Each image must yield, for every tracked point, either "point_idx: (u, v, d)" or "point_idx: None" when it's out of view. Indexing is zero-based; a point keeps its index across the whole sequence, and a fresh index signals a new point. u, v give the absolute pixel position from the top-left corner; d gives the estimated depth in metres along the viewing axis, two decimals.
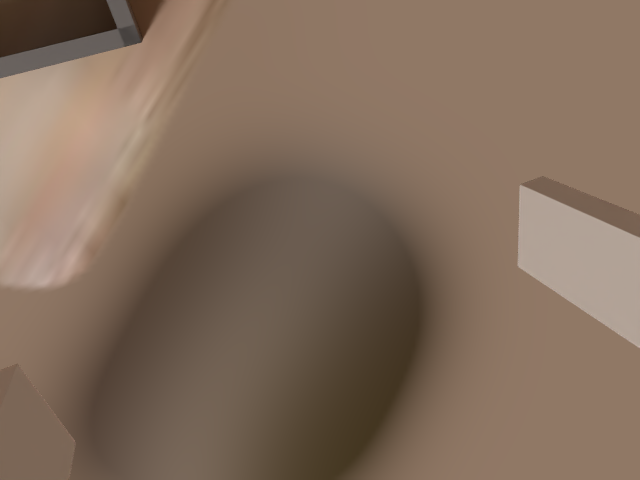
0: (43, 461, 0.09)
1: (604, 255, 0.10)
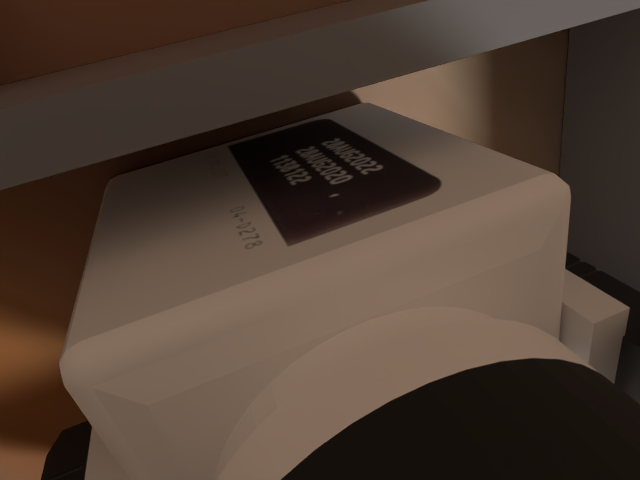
0: None
1: None
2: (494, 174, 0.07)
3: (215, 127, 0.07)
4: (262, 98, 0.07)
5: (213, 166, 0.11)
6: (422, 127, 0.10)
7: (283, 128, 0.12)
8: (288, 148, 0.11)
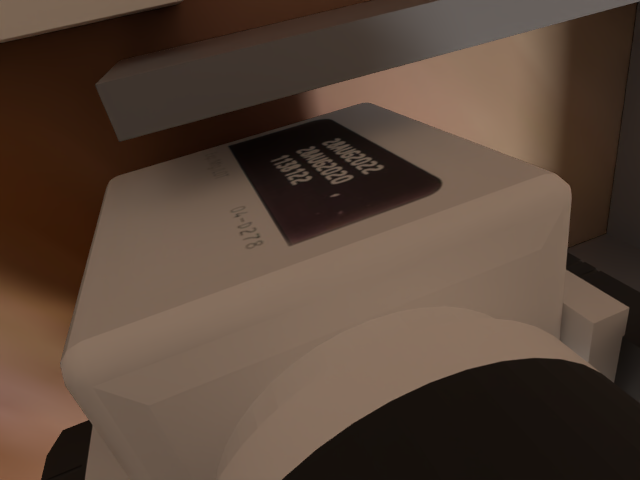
0: None
1: None
2: (495, 174, 0.07)
3: (419, 59, 0.09)
4: (454, 38, 0.09)
5: (213, 166, 0.11)
6: (423, 127, 0.10)
7: (284, 128, 0.12)
8: (289, 148, 0.11)
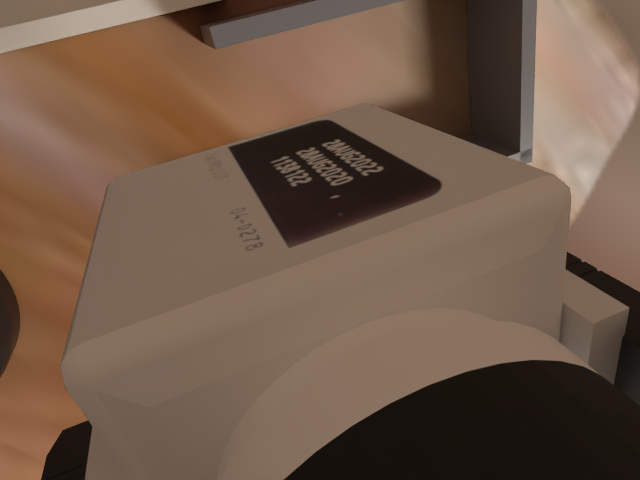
0: None
1: None
2: (495, 175, 0.07)
3: (328, 19, 0.23)
4: (341, 10, 0.23)
5: (213, 167, 0.11)
6: (422, 128, 0.10)
7: (284, 129, 0.12)
8: (289, 149, 0.11)
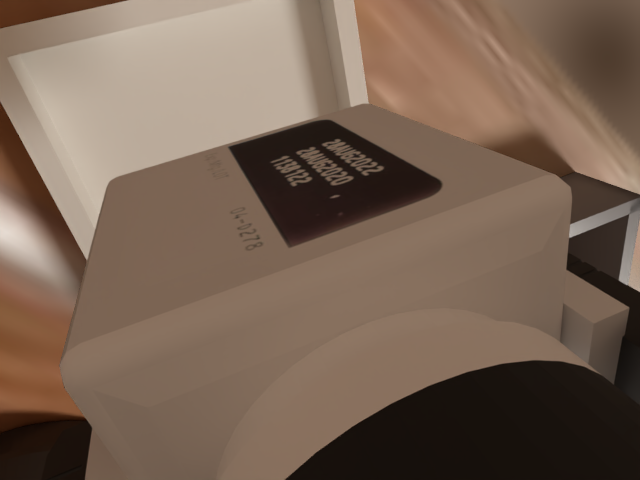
0: None
1: None
2: (495, 176, 0.07)
3: None
4: None
5: (213, 167, 0.11)
6: (423, 128, 0.10)
7: (284, 129, 0.12)
8: (289, 149, 0.11)
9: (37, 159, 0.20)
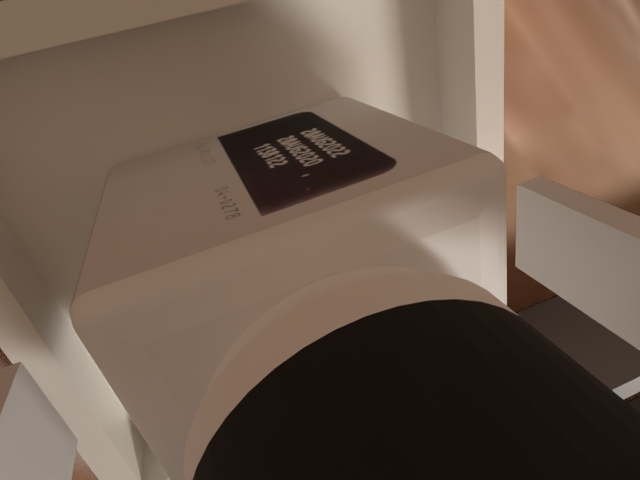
0: (46, 458, 0.09)
1: (601, 255, 0.10)
2: (441, 154, 0.08)
3: (631, 394, 0.19)
4: None
5: (203, 154, 0.12)
6: (389, 117, 0.11)
7: (268, 120, 0.13)
8: (271, 138, 0.12)
9: None
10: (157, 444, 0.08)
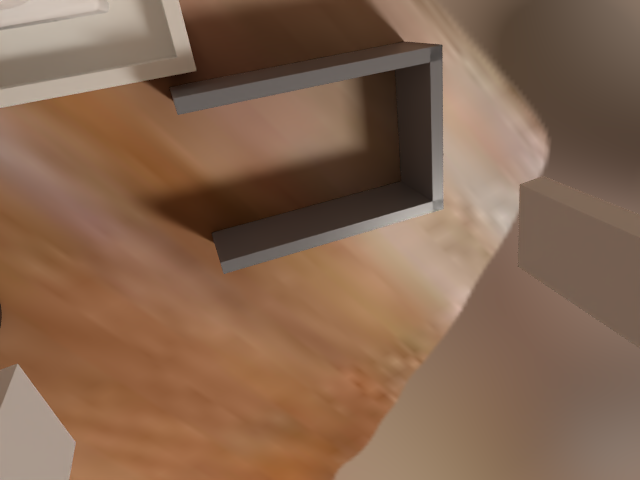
0: (43, 461, 0.09)
1: (605, 255, 0.10)
2: None
3: None
4: (281, 89, 0.30)
5: None
6: None
7: None
8: None
9: None
10: None
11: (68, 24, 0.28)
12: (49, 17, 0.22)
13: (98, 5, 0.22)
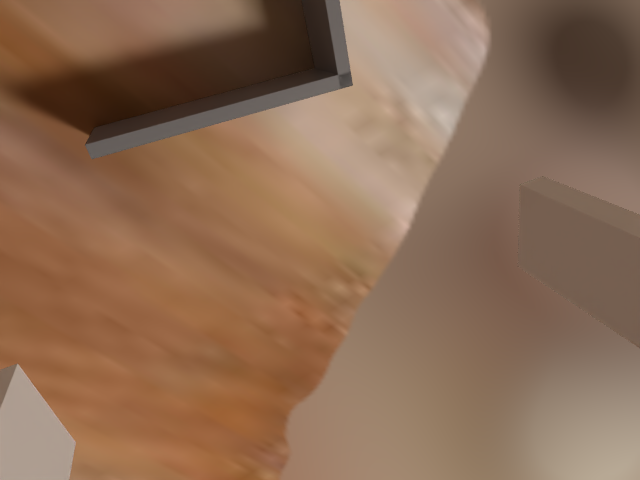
0: (43, 461, 0.09)
1: (604, 255, 0.10)
2: None
3: None
4: None
5: None
6: None
7: None
8: None
9: None
10: None
11: None
12: None
13: None
